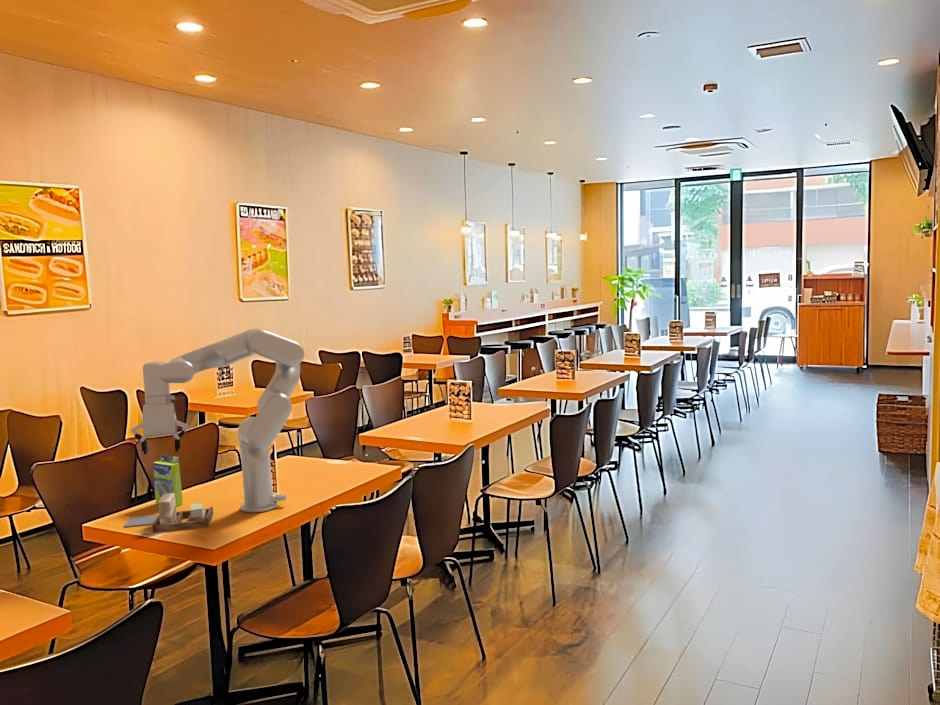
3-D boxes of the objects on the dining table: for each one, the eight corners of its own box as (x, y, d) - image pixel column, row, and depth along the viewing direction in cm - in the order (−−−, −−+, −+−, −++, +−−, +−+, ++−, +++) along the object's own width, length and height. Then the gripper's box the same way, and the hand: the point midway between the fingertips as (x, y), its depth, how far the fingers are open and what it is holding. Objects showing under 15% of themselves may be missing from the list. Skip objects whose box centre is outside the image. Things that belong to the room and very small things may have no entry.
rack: (213, 513, 269) (212, 506, 268) (208, 526, 255) (208, 518, 255) (160, 519, 265) (160, 511, 265) (152, 532, 252) (152, 524, 251)
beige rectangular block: (176, 519, 264) (174, 493, 264) (171, 528, 255) (169, 501, 254) (165, 520, 264) (163, 494, 263) (160, 529, 254) (158, 502, 253)
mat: (158, 515, 269) (158, 514, 269) (152, 524, 260) (152, 523, 260) (130, 518, 268) (130, 517, 268) (123, 527, 258) (123, 526, 258)
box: (155, 504, 284) (151, 456, 282) (165, 501, 287) (160, 454, 286) (174, 507, 278) (170, 459, 277) (184, 504, 282) (180, 456, 280)
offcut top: (202, 510, 264) (202, 503, 264) (202, 516, 258) (202, 508, 257) (191, 511, 263) (191, 504, 263) (191, 517, 257) (190, 510, 256)
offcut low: (206, 517, 266) (205, 509, 266) (203, 525, 257) (202, 516, 257) (192, 519, 265) (191, 510, 265) (189, 527, 256) (188, 518, 256)
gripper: (187, 396, 260) (191, 447, 262) (131, 400, 257) (135, 452, 259) (184, 400, 253) (187, 452, 255) (126, 403, 250) (130, 457, 251)
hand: (161, 452), depth 257 cm, fingers open, 9 cm apart
